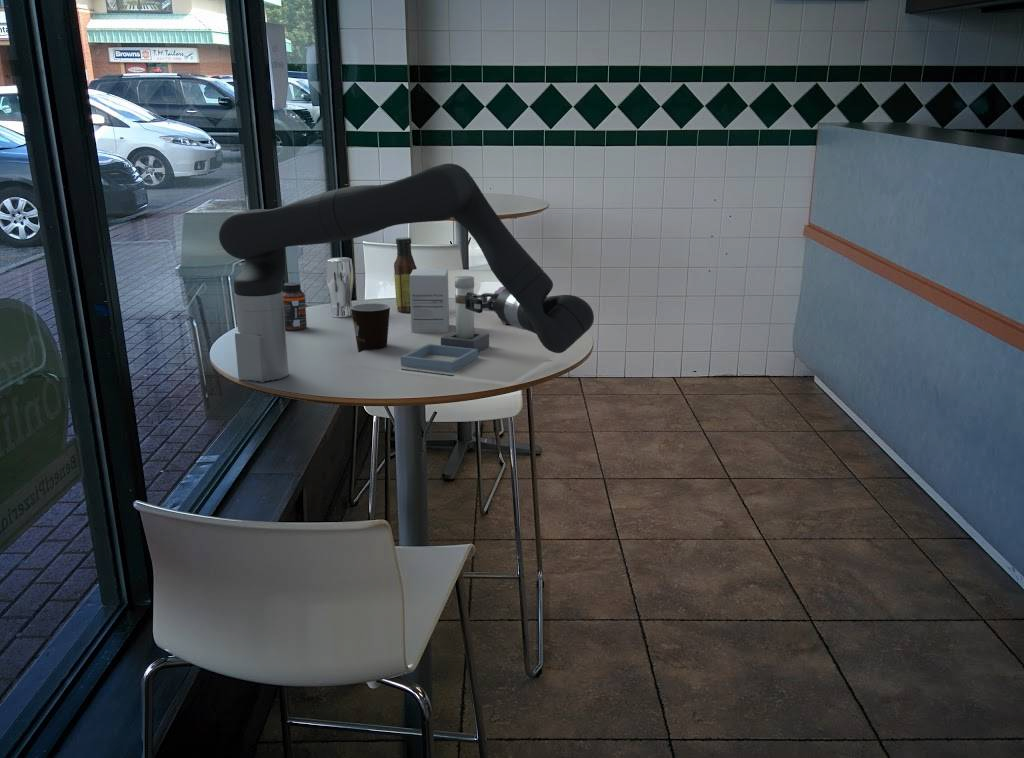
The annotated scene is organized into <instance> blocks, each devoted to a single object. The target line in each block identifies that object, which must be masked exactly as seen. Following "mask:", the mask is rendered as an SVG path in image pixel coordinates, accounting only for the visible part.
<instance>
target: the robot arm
mask: <svg viewBox="0 0 1024 758" xmlns="http://www.w3.org/2000/svg"><path fill="white" fill-rule="evenodd" d="M451 218H453V219H454V220H455V221H456V222H457V223H458V224H459V225H461V226H462V227H463V228H464V229H465V230H466V231H467V232H468V233H469V235H470V236H472V238H473V239H474V240H475V242H476V243H477V245H478V247H479V248H480V250H481V252H482V254H483V256H484V258H485V261H486V263H487V264H488V266H489V268H490V270H491V272H492V273H493V274H494V277H496V279H497V280H498V282H500V284H501V285H502V287H503V286H504V287H505V289H504V290H503V291H502V292H501V293H495V292H494V293H495V294H494V293H492V292H491V293H490V292H484V293H481V294H477V293H475V292H474V293H472V292H467V295H466V296H465V309H468V310H471V311H474V313H476V314H482V313H483V311H484V312H494V313H495V314H496V315H497V317H498V318H499V319H500V321H501V320H502V321H504V322H505V323H508V324H507V325H510V326H513V327H515V328H517V329H521V330H525V331H527V332H530V333H533V334H536V335H537V338H538V340H539V342H540V343H541V344H542V346H543V347H544V348H545V349H546V350H548V351H549V352H551V353H555V354H561V353H562V354H563V353H565V351H567V350H568V349H569V348H570V347H572V346H573V345H574V344H575V343H576V342H577V341H578V340H579V339H580V338H581V337H583V335H584V334H585V333H587V332H588V331H589V330H590V329H591V327H592V326H593V324H594V322H595V317H594V316H595V315H594V310H593V309H592V307H591V306H590V304H589V303H588V302H587V301H585V300H584V299H583V298H581V297H579V296H576V295H572V294H559V295H552V296H549V295H550V292H552V289H553V288H554V282H553V280H552V279H551V277H550V276H549V275H548V274H547V273H546V272H545V271H544V269H543V268H542V267H541V266H540V265H539V264H538V263H537V262H536V261H535V260H534V258H532V257H531V255H530V254H529V253H528V252H527V251H526V250H525V249H524V247H523V246H522V245H521V244H520V243H519V242H518V241H517V239H516V238H515V237H514V236H513V234H512V233H511V232H510V231H509V229H508V228H507V226H506V225H505V224H504V223H503V221H502V220H501V219H500V217H499V216H498V214H497V213H496V212H495V210H494V209H493V207H492V206H491V204H490V203H489V201H488V200H487V198H486V196H485V195H484V194H483V191H482V190H481V189H480V187H479V186H478V184H477V183H476V181H475V180H474V178H473V176H471V174H470V173H469V172H468V171H467V170H466V169H465V168H464V167H463V166H462V165H459V164H456V163H444V164H440V165H436V166H431V167H429V168H426V169H424V170H422V171H420V172H418V173H414V174H412V175H409V176H407V177H404V178H401V179H398V180H394V181H392V182H388V183H384V184H377V185H375V184H374V185H373V184H371V185H370V184H368V185H367V184H366V185H363V184H362V185H352V186H348V187H347V186H346V187H342V188H341V187H340V188H337V189H331V190H329V191H328V190H327V191H324V192H322V193H318V194H314V195H311V196H307V197H305V198H302V199H298V200H296V201H293V202H291V203H289V204H285V205H282V206H280V207H276V208H272V209H264V208H257V209H256V208H255V209H248V210H243V211H242V210H241V211H237V212H235V213H232V214H230V215H229V216H227V218H226V219H224V220H223V222H222V224H221V226H220V228H219V231H218V240H219V244H220V245H221V247H222V249H223V250H224V251H225V252H226V253H227V254H228V255H230V256H231V257H233V258H236V259H239V260H245V261H244V266H243V268H242V270H241V272H240V273H239V274H238V275H237V276H236V277H235V278H234V280H233V291H234V302H235V312H236V313H235V314H236V316H235V317H236V324H237V325H236V326H237V332H235V334H234V341H235V342H234V343H235V352H236V365H237V378H238V380H242V381H248V380H254V381H253V382H256V381H260V382H259V383H265V381H266V382H269V381H270V380H271V381H277V380H281V379H283V378H286V377H287V376H288V375H289V363H288V362H289V361H288V349H287V347H288V345H287V333H286V330H285V318H284V303H283V292H284V291H283V290H284V288H283V284H284V279H285V276H286V248H288V247H297V246H311V245H322V244H329V243H337V242H341V241H342V242H343V241H347V240H351V239H356V238H360V237H364V236H367V235H371V234H375V233H377V232H379V231H382V230H384V229H386V228H390V227H393V226H397V225H399V226H400V225H405V224H415V223H429V222H443V221H446V220H450V219H451ZM488 298H489V299H488ZM502 321H501V322H502ZM243 379H244V380H243ZM276 379H277V380H276ZM271 381H270V382H271Z"/></svg>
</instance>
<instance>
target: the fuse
mask: <svg viewBox="0 0 1024 758" xmlns="http://www.w3.org/2000/svg"><path fill="white" fill-rule="evenodd" d="M454 287H455V288H454V289H455V290H454V291H455V294H454V297H455V298H454V299H455V300H454V302H455V331H456V338H464V339H472V338H474V332H475V312H474V311H471V310H468V309H465V296H466V295H467V292H472V293H474V294H475V290H474V289H475V277H474V276H470V275H469V276H468V275H460V276H459V275H458V276H454Z"/></svg>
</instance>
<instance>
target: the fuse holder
mask: <svg viewBox="0 0 1024 758" xmlns="http://www.w3.org/2000/svg"><path fill="white" fill-rule="evenodd" d="M440 345H444V346H453V347H462V348H471V349H478V353H480V352H482V351H484V350H486V349H488V348H490V333H487V332H477V331H476V332H475V331H474V338H472V339H464V338H456V330H454V331H452V332H451V333H448V334H446V335H444V336H441V337H440Z"/></svg>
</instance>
